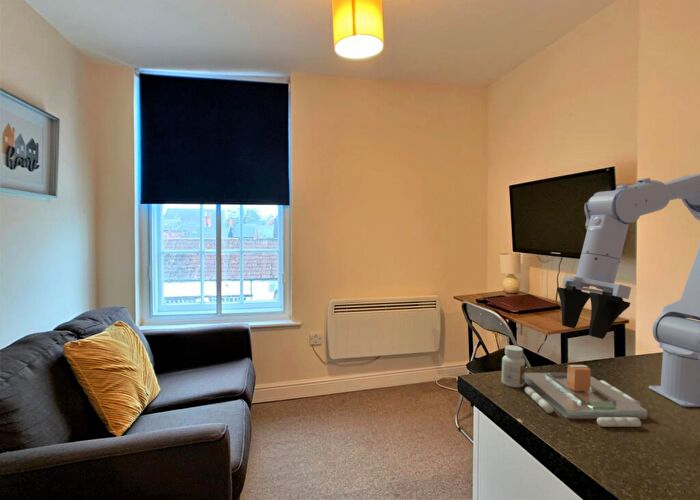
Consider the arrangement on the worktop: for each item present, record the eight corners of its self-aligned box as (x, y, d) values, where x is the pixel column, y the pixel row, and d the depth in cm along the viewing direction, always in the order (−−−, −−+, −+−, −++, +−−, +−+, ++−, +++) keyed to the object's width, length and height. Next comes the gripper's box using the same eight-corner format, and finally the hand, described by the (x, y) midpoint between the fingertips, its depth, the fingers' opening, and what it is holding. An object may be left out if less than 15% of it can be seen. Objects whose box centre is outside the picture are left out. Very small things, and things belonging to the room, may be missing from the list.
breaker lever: (581, 385, 72) (582, 363, 72) (589, 390, 69) (590, 368, 69) (566, 385, 72) (567, 363, 72) (574, 390, 69) (575, 368, 69)
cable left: (634, 423, 61) (634, 415, 61) (640, 428, 60) (641, 420, 60) (594, 423, 61) (595, 415, 61) (600, 428, 60) (600, 420, 60)
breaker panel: (586, 379, 79) (586, 370, 79) (646, 419, 63) (647, 407, 63) (522, 379, 79) (522, 370, 79) (566, 418, 63) (567, 406, 63)
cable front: (530, 392, 73) (530, 385, 73) (553, 413, 64) (553, 405, 64) (523, 392, 73) (523, 385, 73) (545, 413, 64) (545, 405, 64)
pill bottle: (526, 389, 74) (528, 352, 74) (503, 387, 75) (505, 350, 74) (521, 380, 78) (522, 345, 78) (499, 378, 79) (500, 343, 79)
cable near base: (603, 385, 76) (603, 379, 76) (640, 408, 66) (640, 401, 66) (596, 385, 76) (596, 379, 76) (632, 408, 66) (633, 401, 66)
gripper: (554, 251, 71) (537, 318, 71) (607, 252, 57) (586, 336, 57) (589, 259, 71) (572, 326, 71) (651, 263, 57) (630, 347, 57)
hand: (581, 331), depth 64 cm, fingers open, 7 cm apart
